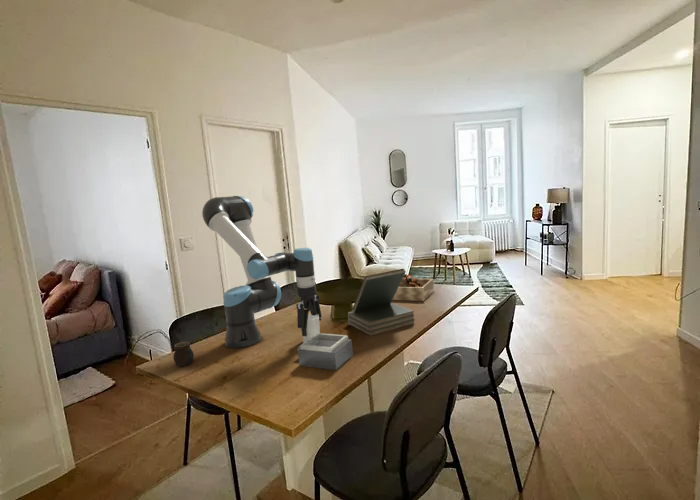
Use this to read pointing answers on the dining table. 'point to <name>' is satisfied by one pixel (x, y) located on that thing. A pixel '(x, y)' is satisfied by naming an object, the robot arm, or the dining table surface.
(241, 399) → the dining table surface
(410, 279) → the bear figurine
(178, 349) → the mate gourd
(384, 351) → the dining table surface
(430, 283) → the bear crate
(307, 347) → the grey open box
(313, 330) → the white cup
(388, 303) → the book stack
